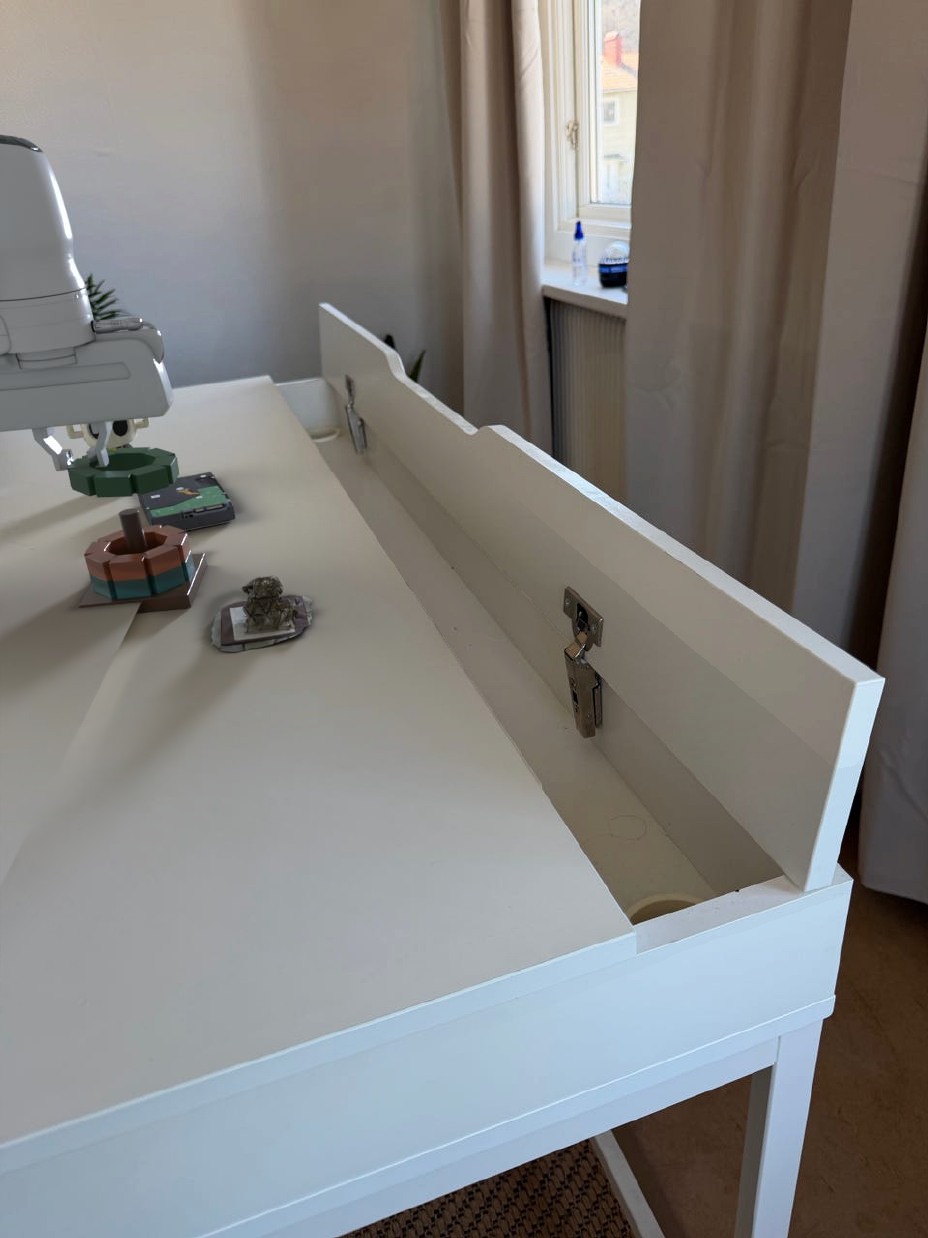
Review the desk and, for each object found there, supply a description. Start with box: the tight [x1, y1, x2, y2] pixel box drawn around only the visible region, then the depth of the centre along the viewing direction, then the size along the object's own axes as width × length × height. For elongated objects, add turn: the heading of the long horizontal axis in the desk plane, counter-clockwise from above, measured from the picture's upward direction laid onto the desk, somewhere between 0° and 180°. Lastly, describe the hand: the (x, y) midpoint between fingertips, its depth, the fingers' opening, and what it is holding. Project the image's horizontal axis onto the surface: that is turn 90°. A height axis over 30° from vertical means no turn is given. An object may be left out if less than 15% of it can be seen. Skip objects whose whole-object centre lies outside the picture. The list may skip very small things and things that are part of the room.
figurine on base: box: [210, 575, 314, 653], centre depth 92 cm, size 12×6×11 cm
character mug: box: [64, 418, 151, 451], centre depth 130 cm, size 11×7×13 cm, turn 111°
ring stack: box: [78, 508, 208, 614], centre depth 99 cm, size 11×11×9 cm
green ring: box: [67, 446, 180, 499], centre depth 95 cm, size 10×10×2 cm
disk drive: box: [137, 471, 236, 532], centre depth 122 cm, size 10×3×15 cm
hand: (82, 467), depth 94 cm, fingers closed on green ring, 2 cm apart
